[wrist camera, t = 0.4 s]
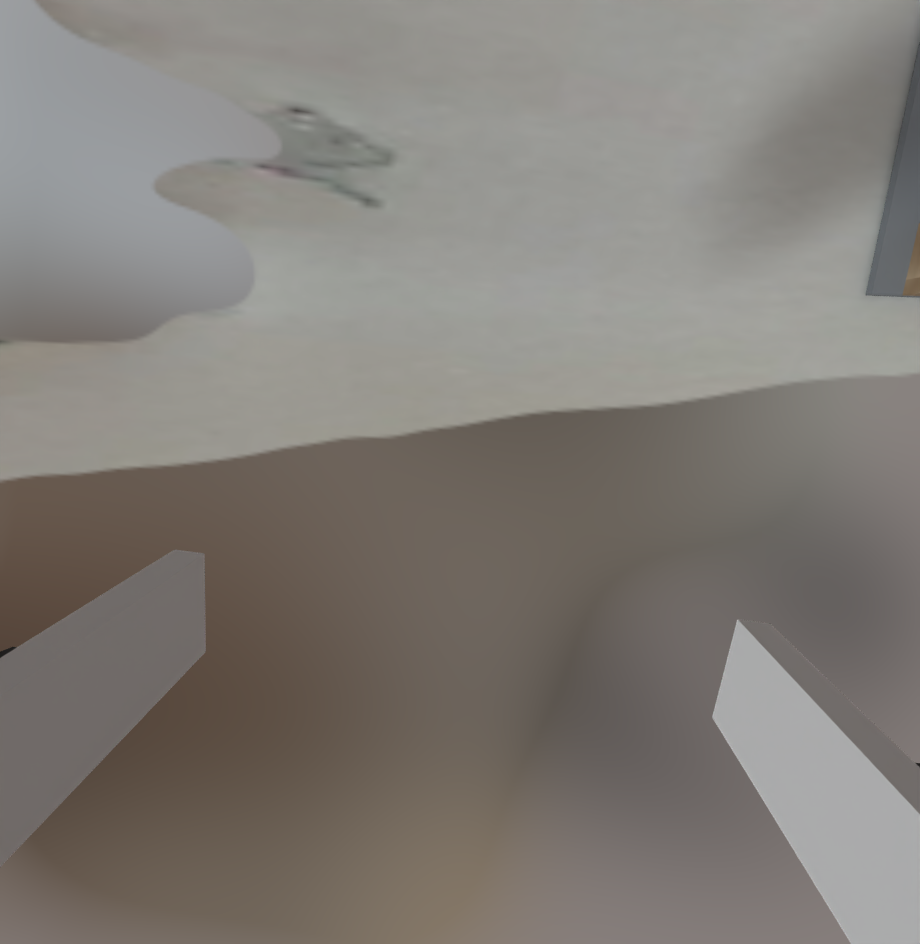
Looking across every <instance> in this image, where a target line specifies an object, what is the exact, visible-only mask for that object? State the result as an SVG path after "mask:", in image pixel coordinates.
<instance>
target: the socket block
mask: <svg viewBox="0 0 920 944" xmlns="http://www.w3.org/2000/svg"><path fill="white" fill-rule="evenodd" d="M903 295H904V296H920V223H919V225H918V230H917V234H916V238H915V243H914V247H913V251H912V256H911V260H910V264H909V269H908V273H907V277H906V282H905V286H904V291H903Z"/></svg>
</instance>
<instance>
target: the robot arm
mask: <svg viewBox="0 0 920 944" xmlns="http://www.w3.org/2000/svg"><path fill="white" fill-rule="evenodd" d="M204 570H205V569H204V553H196V552H188V551H180V550H173V551H172V552H170V553H168V554H167V555H165V556H163V557H162V558H161V559H159V560H157V561H155V562H154V563H152V564H151V565H149V566H147V567H146V568H144V569H143V570H141V571H139V572H138V573H136V574H135V575H133V576H131V577H130V578H128V579H126V580H125V581H123V582H122V583H120V584H119V585H117V586H115V587H114V588H112V589H111V590H109V591H107V592H106V593H104V594H102V595H101V596H99V597H98V598H96V599H94V600H93V601H91V602H89V603H88V604H86V605H85V606H83V607H82V608H80V609H78V610H77V611H75V612H73V613H72V614H70V615H69V616H67V617H65V618H64V619H63V620H61V621H59V622H57V623H56V624H54V625H52V626H51V627H49V628H48V629H46V630H44V631H43V632H41V633H40V634H38V635H36V636H35V637H33V638H32V639H30V640H28V641H27V642H25V643H23V644H22V645H20V646H19V647H11V648H9V649H6V650H3V651H1V652H0V867H1V866H2V865H3V864H4V862H5V861H6V860H7V859H8V858H9V857H10V856H11V855H12V854H13V853H14V852H15V851H16V850H17V849H18V848H19V847H20V846H21V845H22V843H24V842H25V840H26V839H27V838H28V837H29V836H30V835H31V834H32V833H33V832H34V831H35V830H36V829H37V828H38V827H39V826H40V825H41V824H42V823H43V821H45V819H46V818H47V817H48V816H49V815H50V814H51V813H52V812H53V811H54V810H55V809H56V808H57V807H58V806H59V805H60V804H61V803H62V802H63V801H64V800H65V799H66V797H67V796H68V795H69V794H70V793H71V792H72V791H73V790H74V789H75V788H76V787H77V786H78V785H79V784H80V783H81V782H82V781H83V780H84V778H85V777H87V775H88V774H89V773H90V772H91V771H92V770H93V769H94V768H95V767H96V766H97V765H98V764H99V763H100V762H101V761H102V759H104V758H105V756H107V754H108V753H109V752H110V751H111V750H112V749H113V748H114V747H115V746H116V745H117V744H118V743H119V742H120V741H121V740H122V739H123V738H124V737H125V736H126V735H127V734H128V732H129V731H130V730H131V729H132V728H133V727H134V726H135V725H136V724H137V723H138V722H139V721H140V720H141V719H142V718H143V717H144V716H145V715H146V714H147V713H148V711H149V710H150V709H151V708H152V707H153V706H154V705H155V704H156V703H157V702H158V701H159V700H160V699H161V698H162V697H163V696H164V695H165V694H166V693H167V692H168V691H169V689H170V688H171V687H172V686H173V685H174V684H175V683H176V682H177V681H178V680H179V679H180V678H181V677H182V676H183V675H184V673H186V672H187V671H188V669H189V668H190V667H191V666H192V665H193V664H194V663H195V662H196V661H197V660H198V659H199V658H200V657H201V656H202V655H203V654H204V653H205V575H204V574H205V571H204ZM712 718H713V719H714V721H715V723H716V724H717V726H718V727H719V729H720V731H721V732H722V734H723V736H724V737H725V739H726V741H727V742H728V744H729V745H730V747H731V749H732V750H733V752H734V754H735V755H736V757H737V758H738V760H739V762H740V763H741V765H742V766H743V768H744V770H745V772H746V773H747V775H748V776H749V778H750V780H751V781H752V783H753V784H754V786H755V788H756V789H757V791H758V793H759V794H760V796H761V798H762V799H763V801H764V802H765V804H766V806H767V807H768V809H769V811H770V812H771V814H772V816H773V817H774V819H775V820H776V822H777V824H778V825H779V827H780V829H781V830H782V832H783V833H784V835H785V837H786V838H787V840H788V842H789V843H790V845H791V847H792V848H793V850H794V851H795V853H796V855H797V856H798V858H799V860H800V861H801V863H802V864H803V866H804V868H805V869H806V871H807V873H808V874H809V876H810V878H811V879H812V881H813V882H814V884H815V886H816V887H817V889H818V890H819V892H820V894H821V895H822V897H823V899H824V900H825V902H826V904H827V905H828V907H829V909H830V910H831V912H832V913H833V915H834V917H835V918H836V920H837V921H838V923H839V925H840V926H841V928H842V930H843V931H844V933H845V935H846V936H847V938H848V939H849V941H850V943H851V944H920V763H915V762H914V761H912V760H911V759H910V758H909V757H908V756H907V755H906V754H905V753H904V752H903V751H902V750H901V749H900V748H899V747H898V746H897V745H896V744H895V743H894V742H893V741H892V740H891V739H890V738H889V737H887V736H886V735H885V734H884V733H883V732H882V731H881V730H880V729H879V728H878V727H877V726H876V725H875V724H874V723H873V722H872V721H871V720H870V719H869V718H868V717H867V716H866V715H865V714H864V713H863V712H862V711H860V710H859V709H858V708H857V707H856V706H855V705H854V704H853V703H852V702H851V701H850V700H849V699H848V698H847V697H846V696H845V695H844V694H843V693H842V692H841V691H840V690H839V689H838V688H836V686H834V685H833V684H832V683H831V682H830V681H829V680H828V679H827V678H826V677H825V676H824V675H823V674H822V673H821V672H820V671H819V670H818V669H817V668H816V667H814V665H813V664H811V662H809V661H808V660H807V659H806V658H805V657H804V656H803V655H802V654H801V653H800V652H799V651H798V650H797V649H796V648H795V647H794V646H793V645H792V644H791V643H790V642H789V641H788V640H787V639H786V638H785V637H783V636H782V635H781V634H780V633H779V632H778V631H777V630H776V629H775V628H774V627H773V626H772V625H771V624H770V623H763V622H755V621H747V620H737V623H736V627H735V631H734V635H733V639H732V643H731V647H730V650H729V654H728V658H727V662H726V666H725V670H724V674H723V678H722V681H721V685H720V689H719V693H718V697H717V701H716V705H715V709H714V713H713V716H712Z"/></svg>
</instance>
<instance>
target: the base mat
mask: <svg viewBox="0 0 920 944" xmlns="http://www.w3.org/2000/svg"><path fill="white" fill-rule="evenodd" d="M919 223H920V44H919V48H918V53H917V58H916V62H915V67H914V72H913V76H912V81H911V86H910V90H909V95H908V100H907V104H906V109H905V114H904V118H903V123H902V128H901V132H900V137H899V142H898V146H897V151H896V156H895V160H894V165H893V170H892V174H891V179H890V184H889V188H888V193H887V197H886V202H885V207H884V211H883V216H882V221H881V225H880V230H879V235H878V239H877V244H876V249H875V253H874V258H873V263H872V267H871V272H870V277H869V281H868V286H867V291H866V295H872V296H897V297H920V296H904V295H903V291H904V286H905V282H906V277H907V273H908V269H909V264H910V260H911V256H912V251H913V247H914V243H915V238H916V234H917V230H918V225H919Z"/></svg>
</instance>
